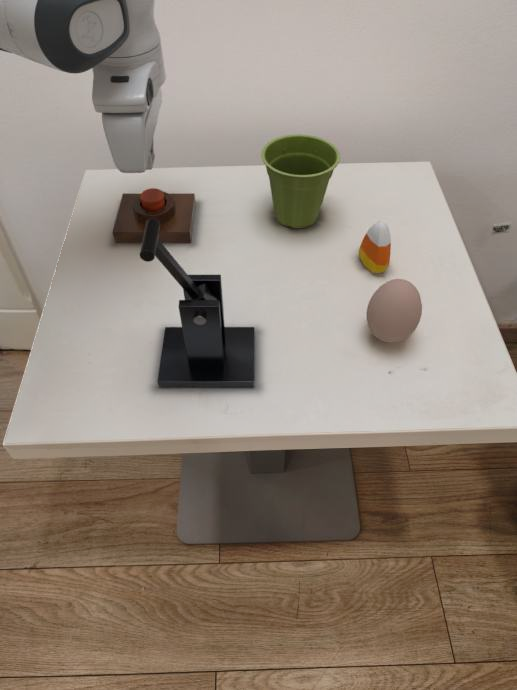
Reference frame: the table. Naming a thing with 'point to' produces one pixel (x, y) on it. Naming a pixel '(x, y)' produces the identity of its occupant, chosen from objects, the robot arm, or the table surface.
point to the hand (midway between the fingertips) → (148, 164)
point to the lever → (170, 263)
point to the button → (152, 199)
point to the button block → (171, 217)
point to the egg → (394, 310)
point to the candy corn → (376, 248)
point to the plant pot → (299, 176)
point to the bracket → (206, 345)
